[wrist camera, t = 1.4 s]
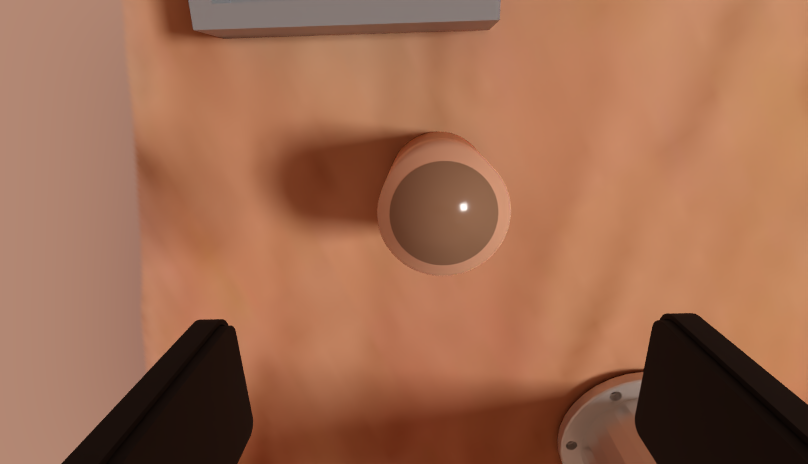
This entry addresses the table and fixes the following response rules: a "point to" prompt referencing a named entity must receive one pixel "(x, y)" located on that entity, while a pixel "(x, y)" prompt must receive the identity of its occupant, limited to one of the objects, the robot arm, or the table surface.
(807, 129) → the table surface
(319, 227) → the table surface
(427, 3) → the grey tray
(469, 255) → the terracotta cup
